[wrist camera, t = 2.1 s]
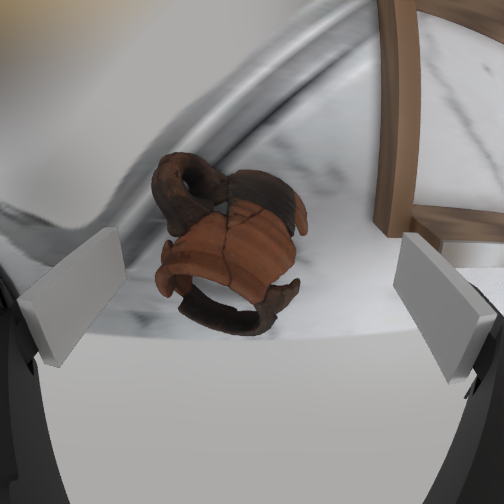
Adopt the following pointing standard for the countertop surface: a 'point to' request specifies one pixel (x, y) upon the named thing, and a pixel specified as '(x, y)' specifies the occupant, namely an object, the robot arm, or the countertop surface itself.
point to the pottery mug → (227, 241)
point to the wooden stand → (408, 133)
